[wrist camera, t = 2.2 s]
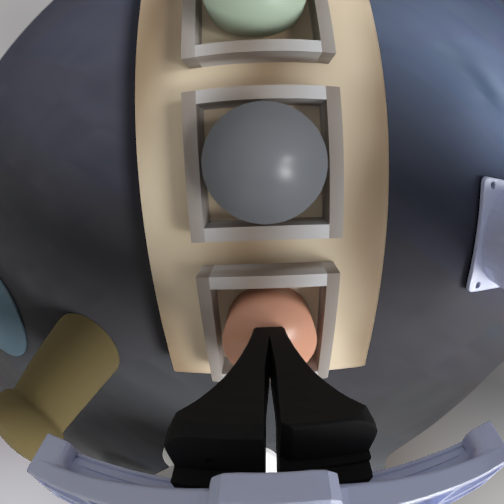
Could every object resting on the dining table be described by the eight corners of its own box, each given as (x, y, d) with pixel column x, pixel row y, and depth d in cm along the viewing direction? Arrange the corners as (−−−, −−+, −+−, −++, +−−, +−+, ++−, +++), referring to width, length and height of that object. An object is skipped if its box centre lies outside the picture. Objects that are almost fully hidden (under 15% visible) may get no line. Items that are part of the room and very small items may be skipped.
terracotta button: (312, 282, 14) (320, 301, 12) (308, 351, 15) (313, 375, 13) (223, 285, 14) (217, 304, 12) (231, 353, 15) (227, 377, 13)
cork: (46, 320, 17) (-34, 403, 7) (91, 305, 17) (-5, 415, 6) (84, 377, 19) (27, 467, 9) (133, 372, 18) (76, 488, 8)
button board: (353, -18, 9) (367, -43, 6) (358, 351, 17) (370, 381, 14) (152, -10, 10) (134, -33, 7) (179, 356, 17) (168, 387, 15)
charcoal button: (314, 110, 10) (325, 101, 8) (317, 212, 12) (328, 222, 10) (208, 114, 10) (198, 105, 9) (214, 215, 12) (206, 226, 10)
